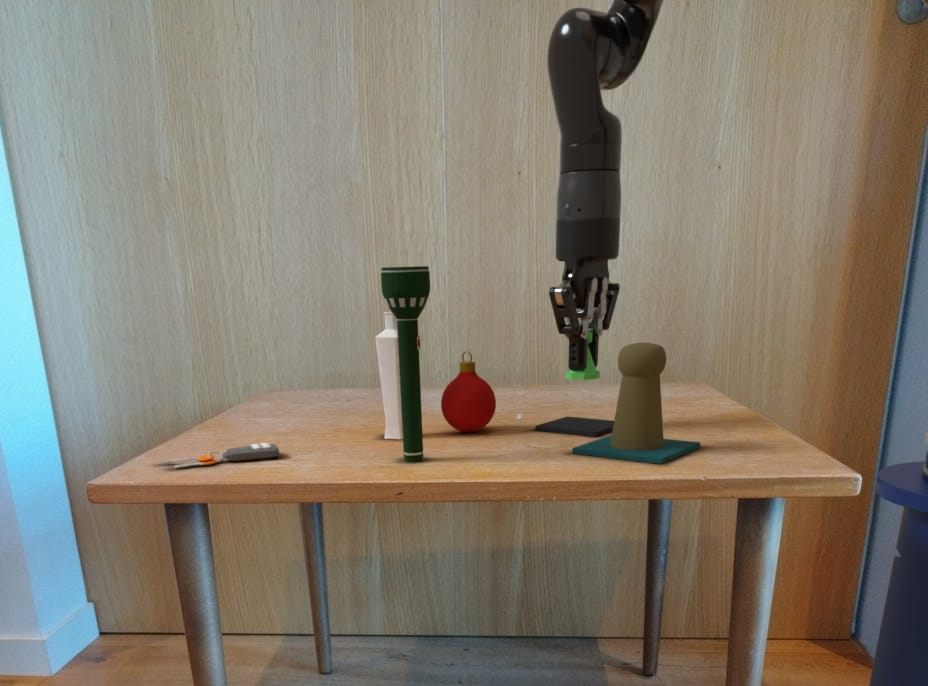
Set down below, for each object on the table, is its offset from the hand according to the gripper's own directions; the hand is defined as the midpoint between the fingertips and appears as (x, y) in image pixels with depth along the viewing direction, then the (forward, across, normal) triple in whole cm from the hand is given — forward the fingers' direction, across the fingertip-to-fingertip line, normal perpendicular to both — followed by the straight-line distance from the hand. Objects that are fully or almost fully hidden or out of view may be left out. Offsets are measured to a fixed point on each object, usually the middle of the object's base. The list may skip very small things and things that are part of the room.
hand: (583, 368), depth 107 cm
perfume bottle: (+8, -16, +18) cm, 25 cm away
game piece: (+1, 0, 0) cm, 1 cm away
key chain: (+8, -38, +26) cm, 46 cm away
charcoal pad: (+7, 0, 0) cm, 7 cm away
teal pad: (+7, -9, -12) cm, 17 cm away
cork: (+7, -9, -12) cm, 17 cm away
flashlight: (+8, -26, +7) cm, 28 cm away
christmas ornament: (+8, -9, +12) cm, 17 cm away
